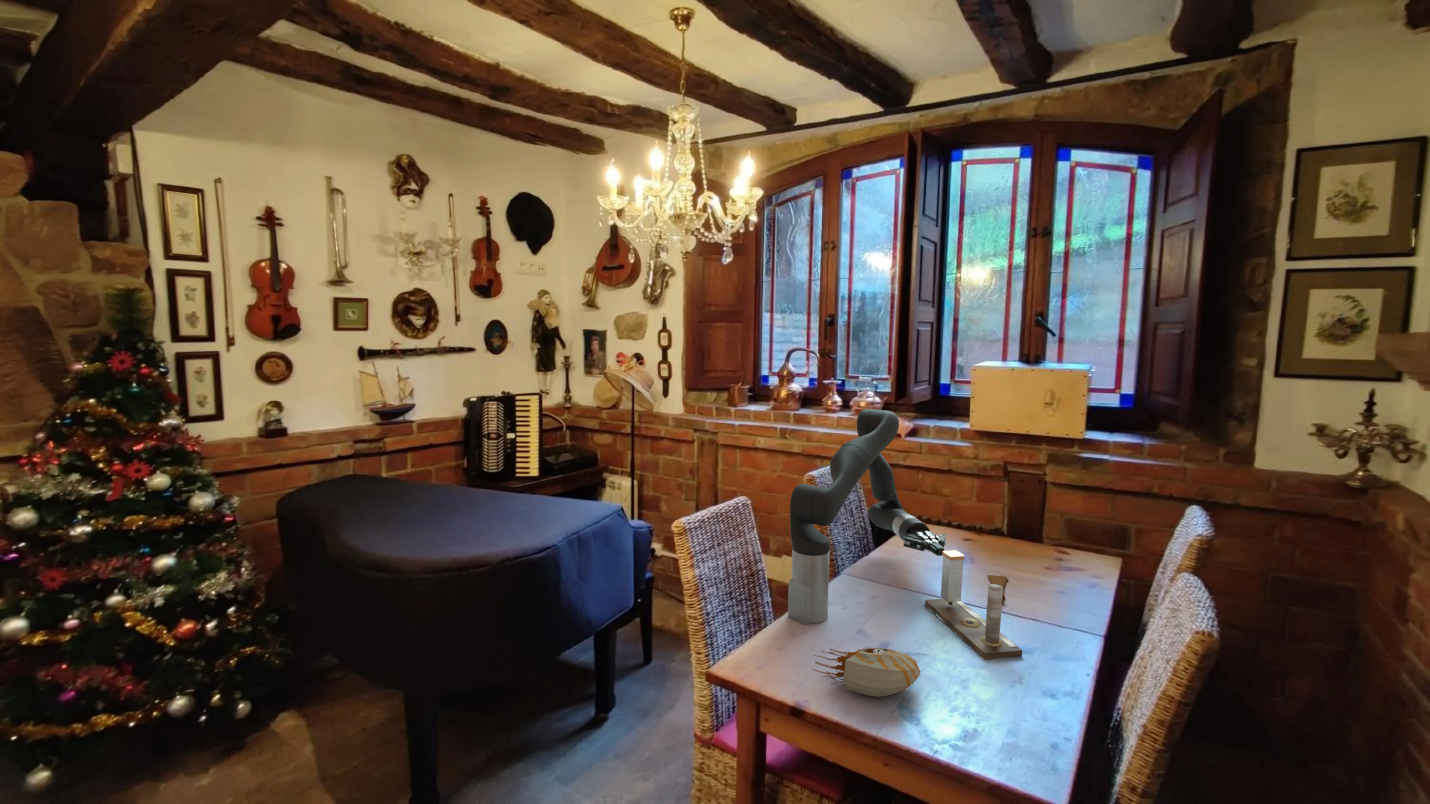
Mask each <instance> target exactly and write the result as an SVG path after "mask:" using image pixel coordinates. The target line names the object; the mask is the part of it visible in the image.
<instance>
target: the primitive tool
mask: <svg viewBox="0 0 1430 804" xmlns="http://www.w3.org/2000/svg"><path fill="white" fill-rule="evenodd" d="M987 579H988V581H989V583H990V584H996V585H1000V586H1002V587H1003V590H1004V589H1005V587H1006V584H1007V582H1009V578H1008V577H1007V576H1005V575H994V574H993V575H992V574H988V575H987ZM1005 601H1006V596H1005V593H1003V594H1002V604H1003V603H1004V602H1005Z"/></svg>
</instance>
